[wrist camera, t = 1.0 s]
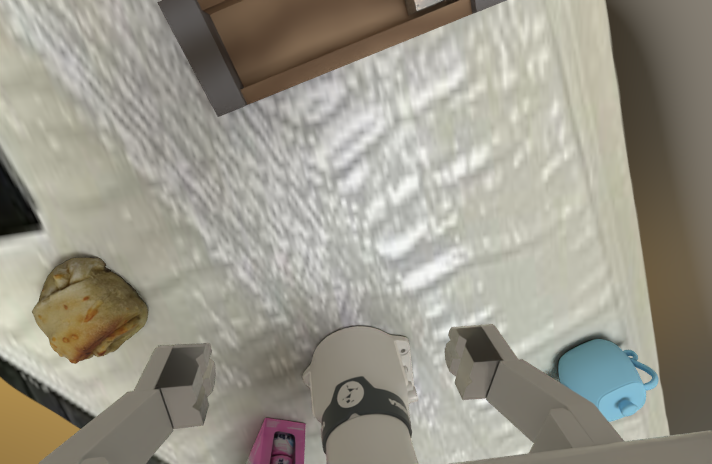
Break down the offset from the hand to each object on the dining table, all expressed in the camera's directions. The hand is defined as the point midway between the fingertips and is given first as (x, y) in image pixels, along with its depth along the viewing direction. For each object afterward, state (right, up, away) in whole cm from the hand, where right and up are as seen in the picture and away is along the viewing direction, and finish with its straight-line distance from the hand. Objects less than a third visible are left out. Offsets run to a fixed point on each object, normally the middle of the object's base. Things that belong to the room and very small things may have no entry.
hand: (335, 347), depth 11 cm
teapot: (+43, -21, +53) cm, 71 cm away
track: (-1, +27, +23) cm, 36 cm away
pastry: (-34, -5, +35) cm, 49 cm away
